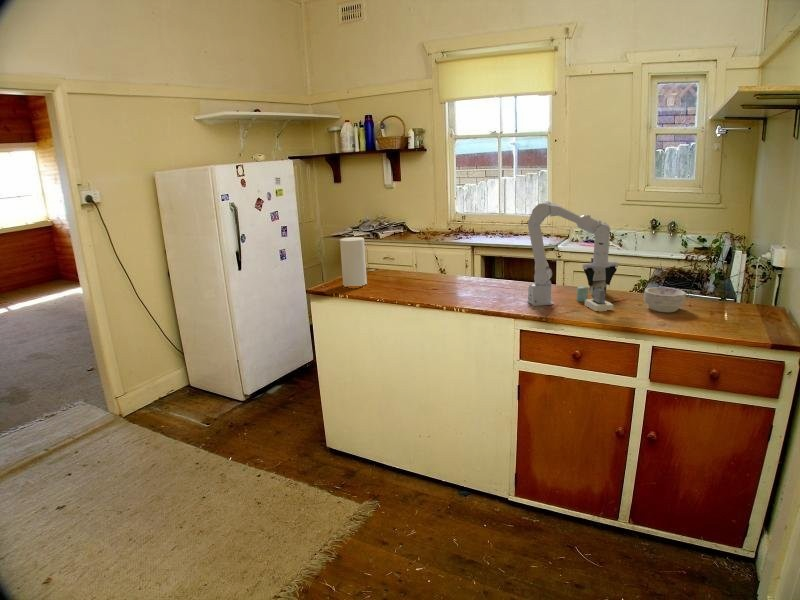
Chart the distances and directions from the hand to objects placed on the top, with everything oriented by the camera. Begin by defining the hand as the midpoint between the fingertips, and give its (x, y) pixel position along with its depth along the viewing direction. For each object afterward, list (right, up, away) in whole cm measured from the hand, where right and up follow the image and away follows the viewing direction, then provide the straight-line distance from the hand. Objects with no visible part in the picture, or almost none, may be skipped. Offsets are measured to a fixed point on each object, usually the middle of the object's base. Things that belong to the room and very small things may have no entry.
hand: (599, 284), depth 220 cm
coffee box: (+8, -4, +24) cm, 25 cm away
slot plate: (+1, -10, +2) cm, 10 cm away
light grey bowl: (+25, -10, -4) cm, 27 cm away
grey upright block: (-2, -7, +14) cm, 15 cm away
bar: (+1, -10, +2) cm, 10 cm away
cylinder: (-107, +1, +58) cm, 122 cm away
